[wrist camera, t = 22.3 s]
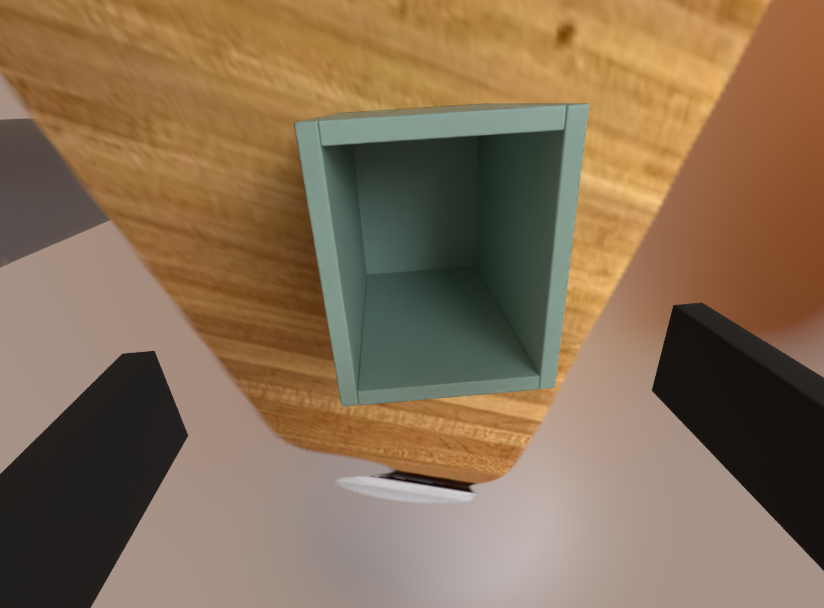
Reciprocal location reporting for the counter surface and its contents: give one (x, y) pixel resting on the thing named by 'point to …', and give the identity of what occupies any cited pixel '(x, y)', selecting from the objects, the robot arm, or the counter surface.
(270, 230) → the counter surface
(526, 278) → the open box
